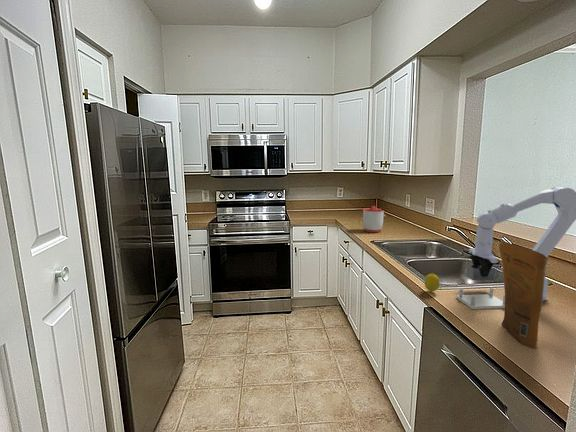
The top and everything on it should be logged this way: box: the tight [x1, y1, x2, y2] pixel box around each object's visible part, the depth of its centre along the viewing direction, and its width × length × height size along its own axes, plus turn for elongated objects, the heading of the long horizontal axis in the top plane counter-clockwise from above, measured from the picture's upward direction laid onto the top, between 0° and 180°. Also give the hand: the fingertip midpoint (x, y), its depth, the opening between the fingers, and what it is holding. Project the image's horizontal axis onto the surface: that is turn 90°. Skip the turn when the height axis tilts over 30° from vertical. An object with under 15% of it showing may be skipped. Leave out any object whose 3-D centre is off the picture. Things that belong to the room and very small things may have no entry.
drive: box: [466, 264, 496, 281], centre depth 132 cm, size 9×4×5 cm, turn 93°
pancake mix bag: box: [498, 240, 549, 350], centre depth 96 cm, size 7×19×28 cm, turn 173°
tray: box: [456, 287, 505, 310], centre depth 120 cm, size 14×10×4 cm
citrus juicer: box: [362, 205, 387, 233], centre depth 243 cm, size 16×17×20 cm
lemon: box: [424, 272, 441, 293], centre depth 130 cm, size 6×6×8 cm
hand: (480, 274), depth 132 cm, fingers closed on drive, 4 cm apart
